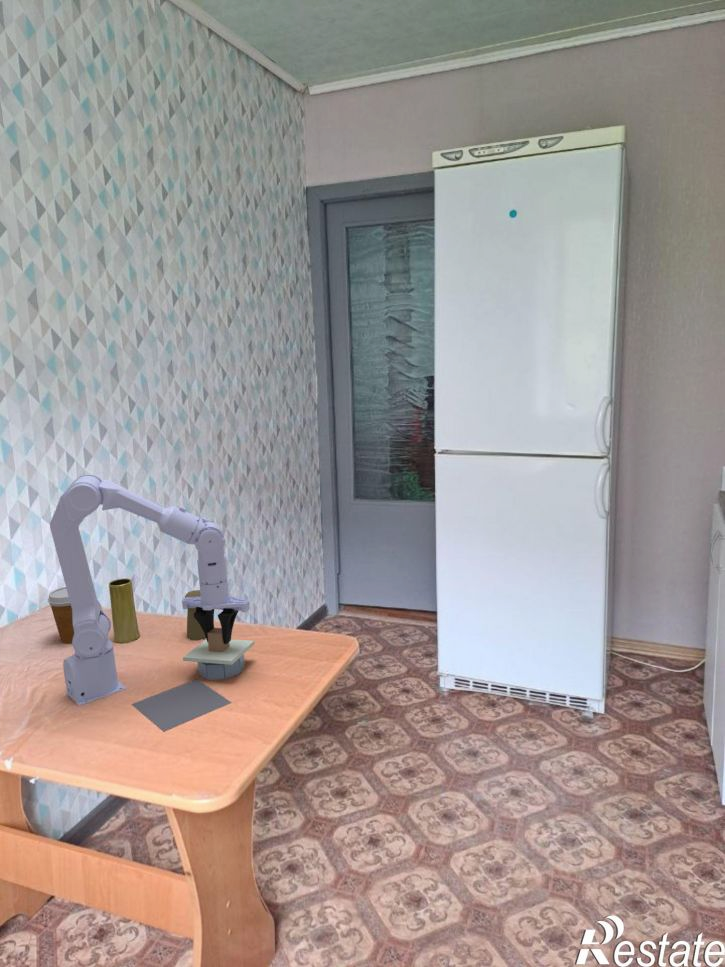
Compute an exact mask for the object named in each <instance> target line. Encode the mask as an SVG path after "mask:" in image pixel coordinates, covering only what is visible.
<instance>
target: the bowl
mask: <svg viewBox="0 0 725 967" xmlns="http://www.w3.org/2000/svg"><path fill="white" fill-rule="evenodd" d="M245 665H246V664H245V653H244V654H243V655H242V656H241V657H240V658H239V659H238V660H237V661H236V662H234V663H233V664H232V665H228V664H215V663H203V662H197V668H198V674H199V675H200V676H201V677H203V678H204V679H206V680H227V679H230V678H231V677H234V676H237V675H239V674H241V673H242V671H243V669H244V667H245Z"/></svg>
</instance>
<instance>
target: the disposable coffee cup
mask: <svg viewBox="0 0 725 967" xmlns="http://www.w3.org/2000/svg"><path fill="white" fill-rule="evenodd" d="M47 603H48V604H49V605H50V609H51V611H52V615H53V618H54V623H55V624H56V628H57V632H58V635H59V639H60V642H61V641H62V642H61V643H63V642H65V643H64V644H72V640H73V636H74V628H73V617H72V607H71V604H70V600H69V596H68V592H67V589H66V586H63V587H60V588H57V589H54V590H52V591H51V592H50V593H49V594H48V598H47Z"/></svg>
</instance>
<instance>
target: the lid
mask: <svg viewBox="0 0 725 967" xmlns="http://www.w3.org/2000/svg"><path fill="white" fill-rule="evenodd" d="M253 646H255V641H254V640H247V639H246V640H245V639H235V638H234V639H232V638H231V641H230V642H229V643H228V644H224V642H223V635H222V628H221V627H214V629H212V630H211V631H210V632H208V642H207V639H204V640H203V641H202V642H200V643H199V644H198V645H197V646H195V647H194V648H192V650H190V651H189V652H187V653H186V654H185V655H184V656H182V661H183V662H190V663H192V662H193V663H198V662H203V663H215V664H228V665H232V664H233V663H234V662H236V661H237V660H238V659H239V658H240V657H241V656H242V655H243V654H244V655H245V653H247V652H248V650H250V649H251V648H252V647H253Z"/></svg>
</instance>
